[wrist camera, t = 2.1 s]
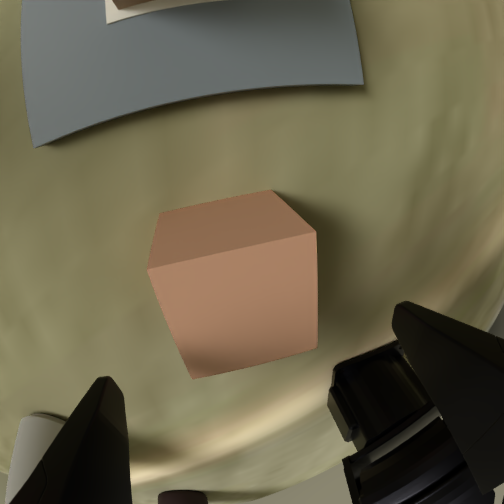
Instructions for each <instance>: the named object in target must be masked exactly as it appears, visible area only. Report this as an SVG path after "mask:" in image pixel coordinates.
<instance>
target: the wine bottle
mask: <svg viewBox="0 0 504 504" xmlns="http://www.w3.org/2000/svg"><path fill="white" fill-rule="evenodd" d="M158 504H208V501H207V497H206V495H205V494H203V493H200V492H195V491H183V490H181V491H168V492H164V493H161V494H159V495H158Z"/></svg>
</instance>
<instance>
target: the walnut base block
mask: <svg viewBox="0 0 504 504" xmlns="http://www.w3.org/2000/svg"><path fill="white" fill-rule="evenodd" d="M112 1H113V3H114V4H115V6H116V7H117V9H118V10H120V9H123V8H126V7H130V6H134V5H137V4H141V3H145V2H149V1H154V0H112Z"/></svg>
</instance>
